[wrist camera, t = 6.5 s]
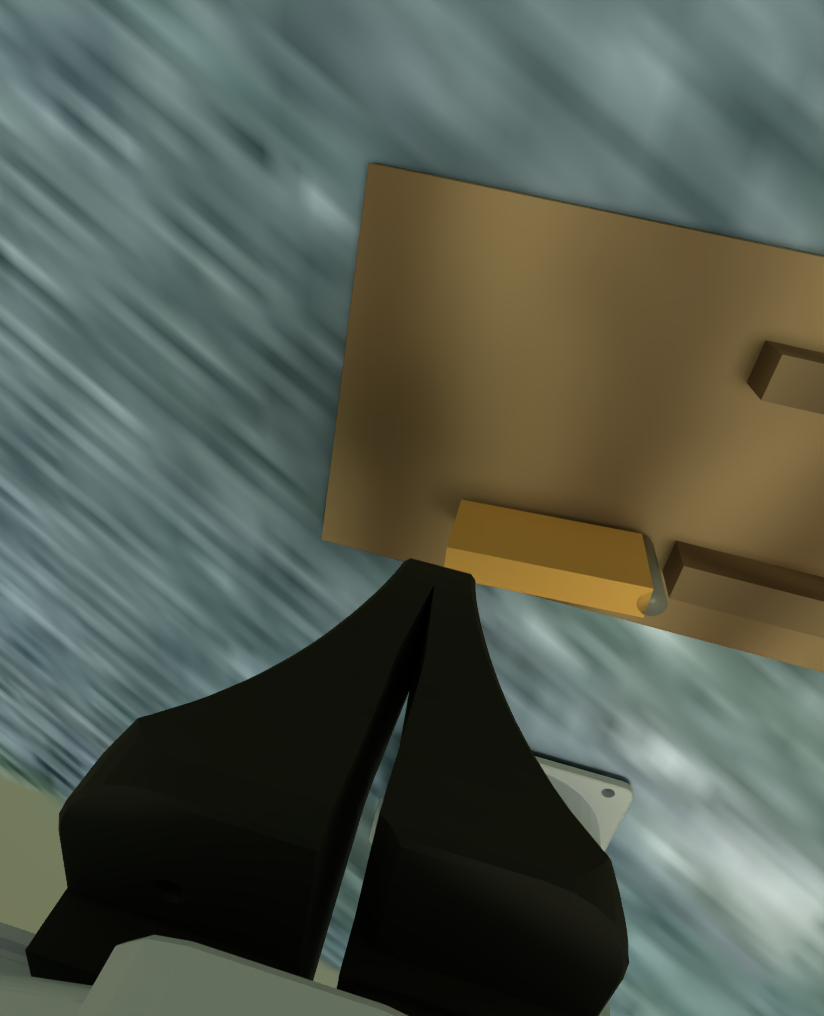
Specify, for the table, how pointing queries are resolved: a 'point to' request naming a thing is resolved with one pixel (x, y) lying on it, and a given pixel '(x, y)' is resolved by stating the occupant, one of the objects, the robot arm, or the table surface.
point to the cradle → (590, 396)
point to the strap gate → (557, 559)
